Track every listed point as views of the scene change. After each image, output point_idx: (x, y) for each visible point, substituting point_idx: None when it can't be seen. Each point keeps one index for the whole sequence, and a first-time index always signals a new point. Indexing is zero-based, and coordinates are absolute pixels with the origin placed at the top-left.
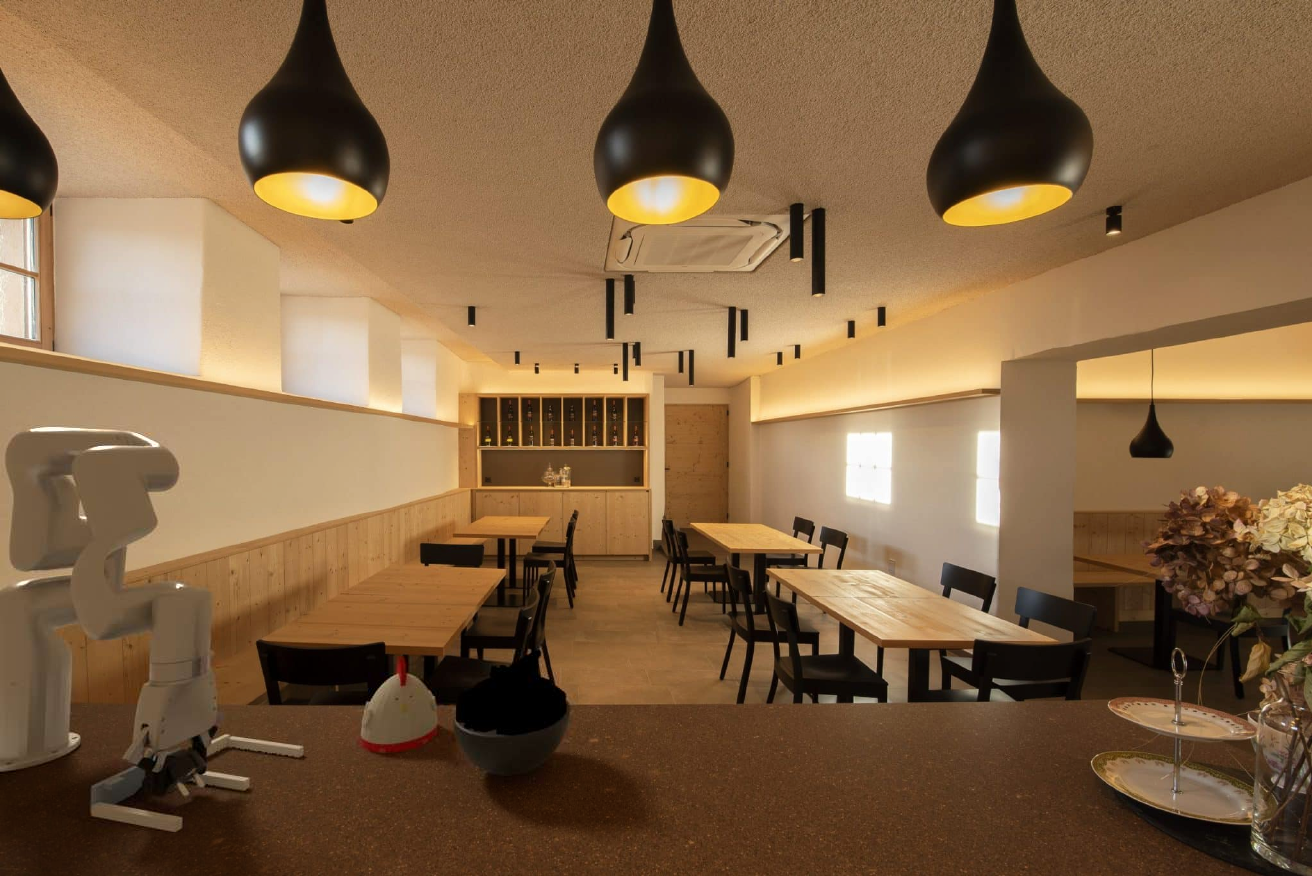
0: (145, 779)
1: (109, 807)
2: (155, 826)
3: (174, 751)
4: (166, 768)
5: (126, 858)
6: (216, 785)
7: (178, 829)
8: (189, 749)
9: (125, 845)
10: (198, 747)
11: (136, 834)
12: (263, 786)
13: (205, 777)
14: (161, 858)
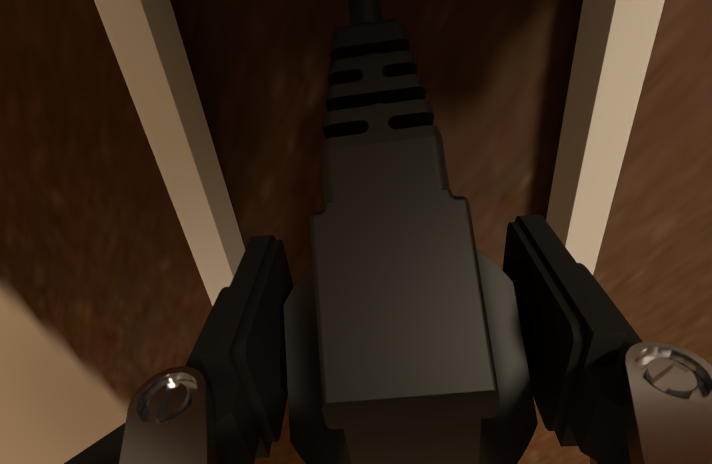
0: (201, 340)
1: (136, 72)
2: None
3: (420, 421)
4: (290, 430)
5: (125, 375)
6: None
7: None
8: (571, 352)
9: (143, 322)
10: (579, 426)
11: (188, 297)
12: None
13: (563, 218)
14: None
